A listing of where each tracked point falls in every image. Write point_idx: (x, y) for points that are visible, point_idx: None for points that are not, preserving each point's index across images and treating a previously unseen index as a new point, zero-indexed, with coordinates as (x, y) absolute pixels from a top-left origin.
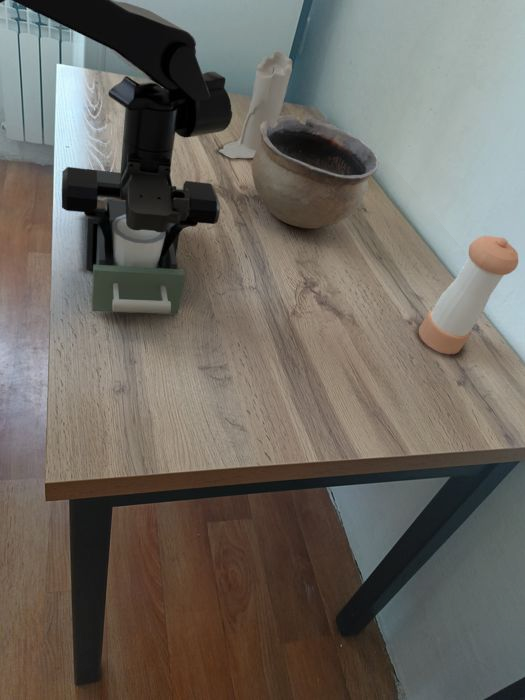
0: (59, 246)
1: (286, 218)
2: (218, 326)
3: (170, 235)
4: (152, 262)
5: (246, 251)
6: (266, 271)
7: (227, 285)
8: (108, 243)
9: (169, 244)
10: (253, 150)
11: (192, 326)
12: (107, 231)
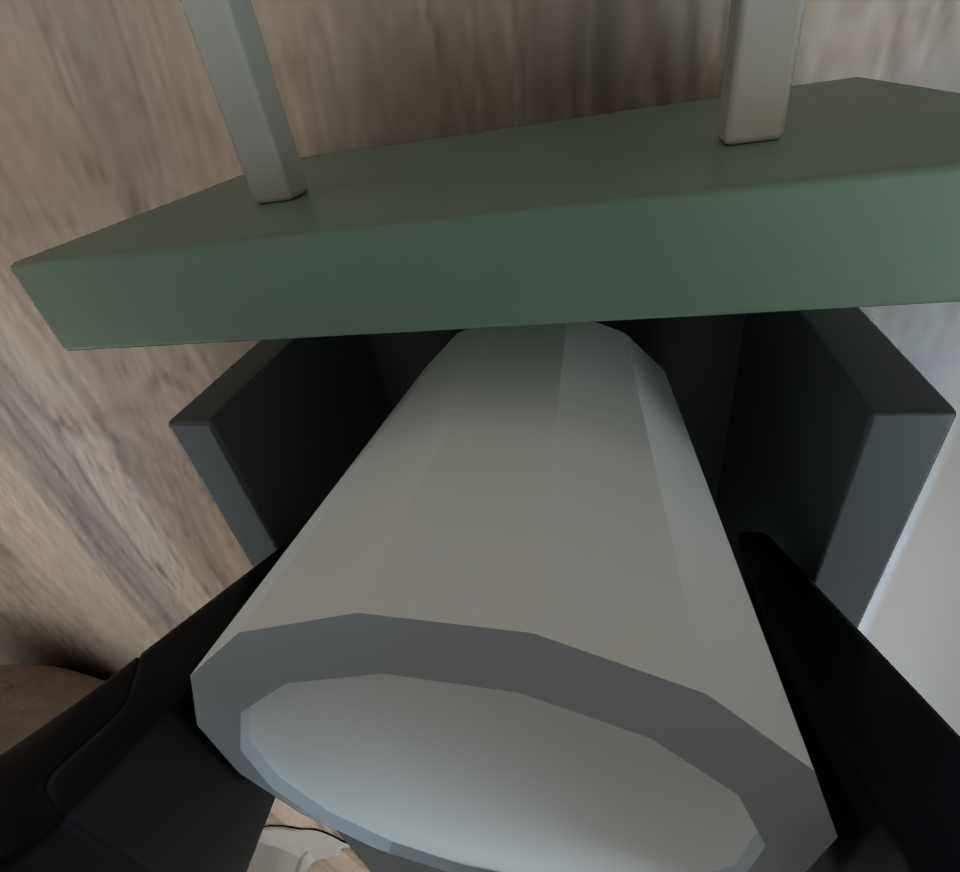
0: (869, 603)
1: (70, 699)
2: (74, 125)
3: (131, 711)
4: (378, 435)
5: (168, 588)
6: (67, 509)
7: (159, 432)
8: (819, 616)
9: (216, 606)
10: (271, 844)
11: (200, 96)
12: (945, 809)
